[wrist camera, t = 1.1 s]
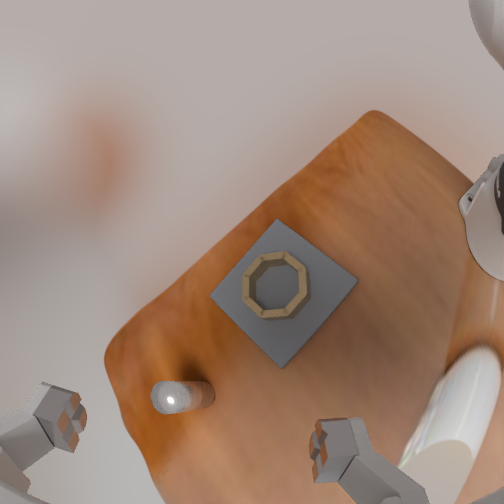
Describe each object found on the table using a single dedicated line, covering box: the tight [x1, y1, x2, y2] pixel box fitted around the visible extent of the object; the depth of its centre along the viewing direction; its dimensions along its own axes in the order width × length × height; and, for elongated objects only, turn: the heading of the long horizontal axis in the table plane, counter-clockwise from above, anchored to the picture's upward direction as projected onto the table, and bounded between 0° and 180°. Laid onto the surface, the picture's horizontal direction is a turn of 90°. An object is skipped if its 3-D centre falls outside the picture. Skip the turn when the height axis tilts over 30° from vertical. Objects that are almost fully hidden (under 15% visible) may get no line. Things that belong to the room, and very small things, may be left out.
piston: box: [151, 381, 215, 414], centre depth 40 cm, size 4×4×10 cm
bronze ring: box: [242, 251, 311, 321], centre depth 44 cm, size 9×9×3 cm
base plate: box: [209, 219, 359, 368], centre depth 46 cm, size 16×16×1 cm
